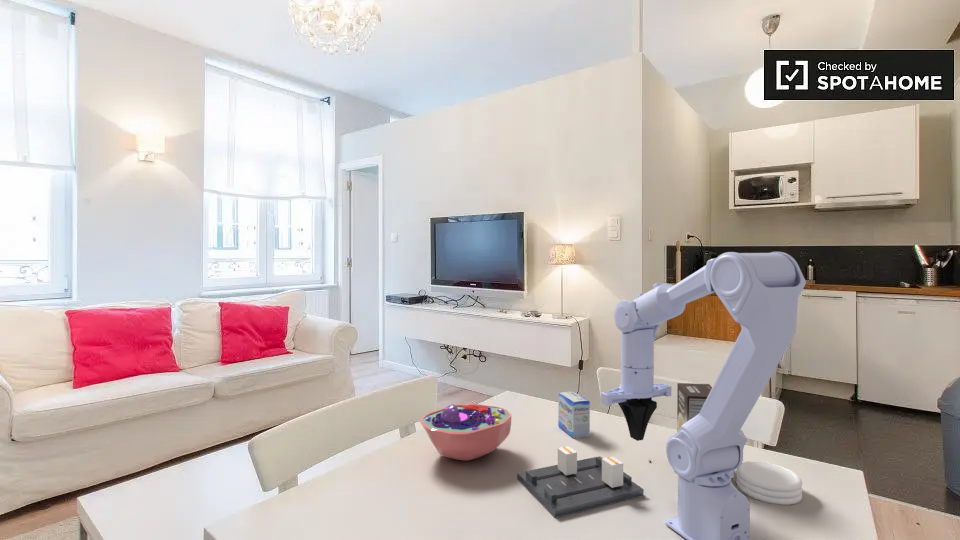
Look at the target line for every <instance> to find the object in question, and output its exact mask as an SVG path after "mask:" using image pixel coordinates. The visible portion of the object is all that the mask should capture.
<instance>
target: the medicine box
mask: <svg viewBox="0 0 960 540" xmlns="http://www.w3.org/2000/svg"><path fill="white" fill-rule="evenodd" d="M590 403H591V402H590V400H589V399H587V398H585V397H583V396H582V395H580V394H578V393H576V392H574V391H563V392H559V393H558V406H557V407H558V412H557V413H558V417H557V420H558V421H557V423H558V424H557V426H558V428H560V429H561V430H562V431H563V432H565V433H566V434H568V435H569V436H571V438H573V439H580V438H586V437H590V434H591V433H590V428H591V427H590V426H591V423H590V422H591V421H590V419H591V416H590V415H591V413H590V412H591V408H590V407H591V404H590Z"/></svg>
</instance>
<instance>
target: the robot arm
mask: <svg viewBox="0 0 960 540" xmlns="http://www.w3.org/2000/svg"><path fill="white" fill-rule="evenodd" d="M806 285H807V281H806V278H805V276H804V275H803V273H802V270H801V268H800V266H799V264H798V262H797V261H796V259H795V258H794V257H793V256H792V255H790V254H788V253H786V252H782V251H771V252H736V251H727V252H723V253H721V254H719V255H718V256H717V257H714V258H711V259H708V260H707V261H706V265H703V267H701V268H699V269H698V270H696V271H694V272H693V273H691V274H690V275H688V276H686V277H685V278H683V279H682V280H680V281H679V282H678V283H675V284H671V283H666V282H665V283H664V282H656V283H654V284H652V289H651V290H648V291H647V292H645V293H639V294H637V295H636V298H634V299H633V300H628V299H621V300H620V301H619V302H618V303H617V304H616V306H615V308H614V312H613V317H614V318H613V319H614V323H615V325H616V327H617V329H618V330H619V331H620V383H619V385H618V387H615V388H612V389H609V390H606V391H601V392H600V403H601V404H603V405H606V406H607V407H610V406H613V404H618V406H619V407H620V410H621V411H622V413H623V415H624V419H625V422H626V424H627V428H628V432H629V436H630V438H632V439H633V440H635V441H638V442H639V441H643V440H644V438H645V434H646V431H647V428H648V425H649V422H650V419H651V417H652V416H653V414H654V412H655V411H656V409H657V408H658V402H657V401H656V400H652V399H653V398H658V397H672V385H669V384H667V383H663V382H662V383H654V381H655V379H654V375H655V374H654V362H655V361H654V360H655V359H654V356H655V355H654V350H655V349H654V348H655V347H654V344H655V341H656V339H657V336H658V335H657V334H658V329H659V328H660V326H661V324H662V323H664V322H667V321H669V320H672V319H674V318H675V317H678V316H680V315H682V313H684V312H685V309H686V306H687V304H688V303H691V302H693V301H696V300H699V299H701V298H705V297H706V296H710V295H711V294H713V293H715V294H716V295H717V297H718V298H719V300H720V301H721V303H722V304H723V305H724V307H725V309H726V310H727V311H728V313H729V314H730V316H731V317H732V319H733V321H735V322H736V323H738V324H739V326H740V327H741V331H740V332H739V334H738V335H737V338H736V340H735V342H734V344H733V346H732V348H731V351H730V352H729V354H728V356H727V357H726V360H725V362H724V364H723V366H722V367H721V369H720V372H719V374H718V375H717V378H716V379H715V381H714V384H713V385H712V386H711V387H712V389H711V391H710V393H709V395H708V397H707V399H706V401H705V403H704V405H703V407H702V409H701V411H700V413H699V414H698V415H697V416H695V417H694V418H692V419H691V420H689V421H688V422H686V423H685V424H683V425H682V426H681V427H680V429H679V431H678V432H677V431H676V433H674V434H672V435H670V436H669V437H668V439H667V441H666V445H665V452H666V457H667V461H668V463H669V465H670V466H671V469H673V472H674V474H676V475H677V516H676V517H675V516H674V517H672V518H667V519H665V521H664V524H665V525H666V526H667V527H669V528H670V529H671V530H673V531H675V532H676V533H677V534H679V535H680V536H681V537H683V538H684V539H685V540H750V539H751V529H750V528H751V507H750V502H749V500H748V498H747V496H746V495H745V494H743V492H742V491H739V490H738V488H736V487H735V485H734V484H733V482H732V480H731V479H732V478H735V470H737V468H738V467H739V466H740V465H741V464H742V463H743V462H744V449H745V445H746V443H747V442H748V439H747V436H746V435H745V432H744V431H743V430H742V428H743V426H744V425H745V423H746V421H747V420H748V417H749V416H750V414H751V412H752V410H753V409H754V407H755V405H756V404H757V402H758V400H759V398H760V396H761V395H762V393H763V391H764V389H765V388H766V386H767V384H768V382H769V381H770V379H771V377H772V376H773V374H774V372H775V371H776V369H777V368H778V365H779V364H780V362H781V361H782V359H783V357H784V355H785V354H786V351H788V348H789V346H790V344H791V343H792V341H793V339H794V337H795V335H796V332H797V319H798V318H797V317H798V302H799V297H800V295H801V293H802V291H803V290H804V288H805V286H806Z"/></svg>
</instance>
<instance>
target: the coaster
mask: <svg viewBox="0 0 960 540" xmlns="http://www.w3.org/2000/svg"><path fill="white" fill-rule="evenodd" d="M736 485H737V486H736V487H738V489H739V490H740V492H742V493H744V495H745V494H746V495H747V496H749V497H750V498H754V499H755V500H757V501H761V502H764V503H768V504H773V505H779V506H780V505H781V506H789V505H791V504H792V505H795V504H798V503H800V502H801V501H802V499H803V480H802V478H801V477H800V476H799V475H798V474H797V473H796V472H794V471H792V470H791V469H789V468H786V467H784V466H781V465H778V464H776V463H775V464H774V463H772V462H766V461H760V460H759V461H758V460H757V461H756V460H751V461H743V462H742V464H741V465H740V466H739V467H738V468H737V469H736ZM792 505H791V506H792Z"/></svg>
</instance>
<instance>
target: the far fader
mask: <svg viewBox="0 0 960 540" xmlns="http://www.w3.org/2000/svg"><path fill="white" fill-rule="evenodd" d="M577 461H578V451H576V450H575V449H573V448H572V447H571V446H561V447H558V448H557V465H558V469H559V470H560V471H561V472H563V473H564V474H565V475H571V474H575V473H577Z"/></svg>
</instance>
